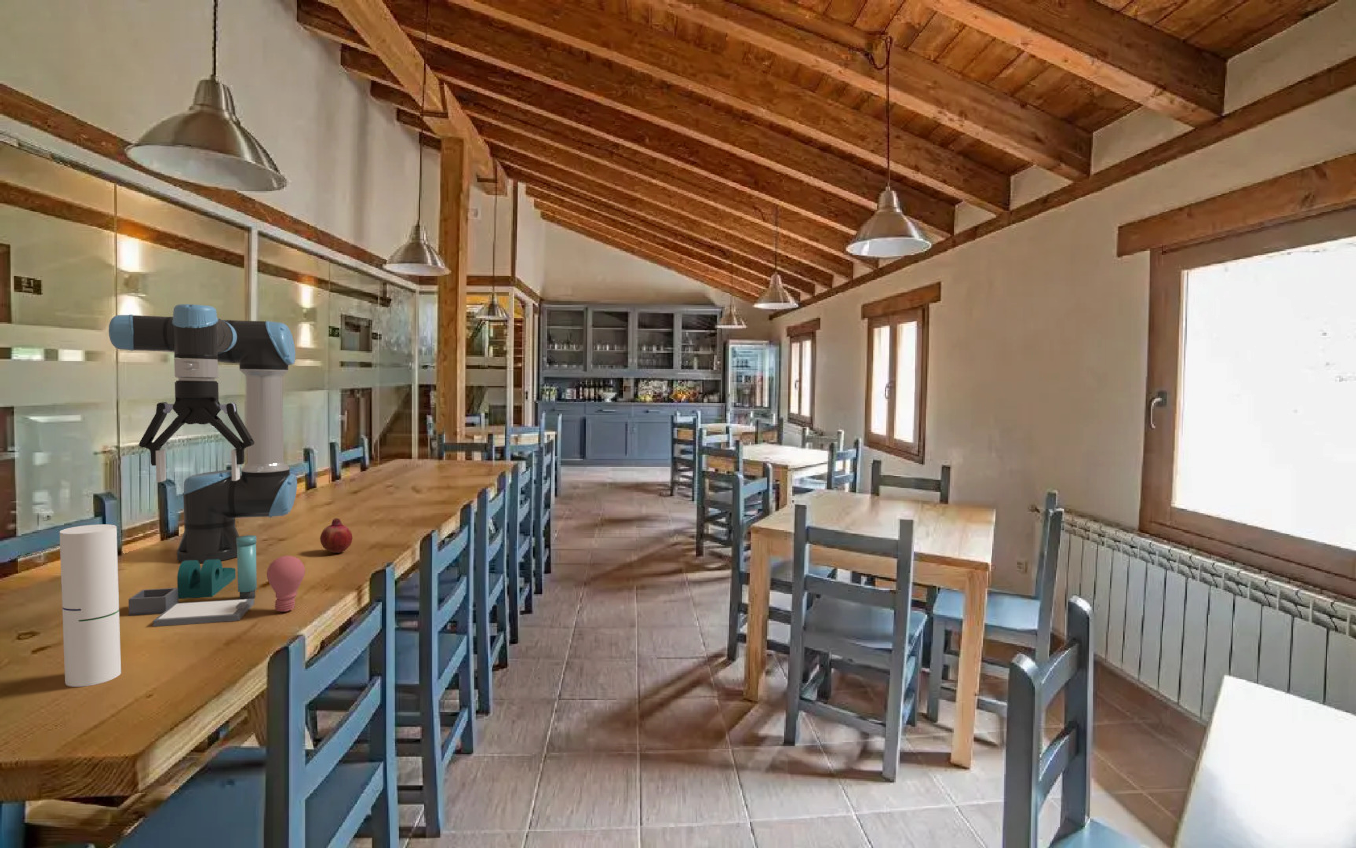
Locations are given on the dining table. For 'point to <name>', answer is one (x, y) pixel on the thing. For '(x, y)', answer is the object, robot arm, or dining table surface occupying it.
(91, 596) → the cylindrical container
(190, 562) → the bracket
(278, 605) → the light bulb
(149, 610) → the pen holder
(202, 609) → the clipboard
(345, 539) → the fruit
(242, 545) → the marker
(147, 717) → the dining table surface
